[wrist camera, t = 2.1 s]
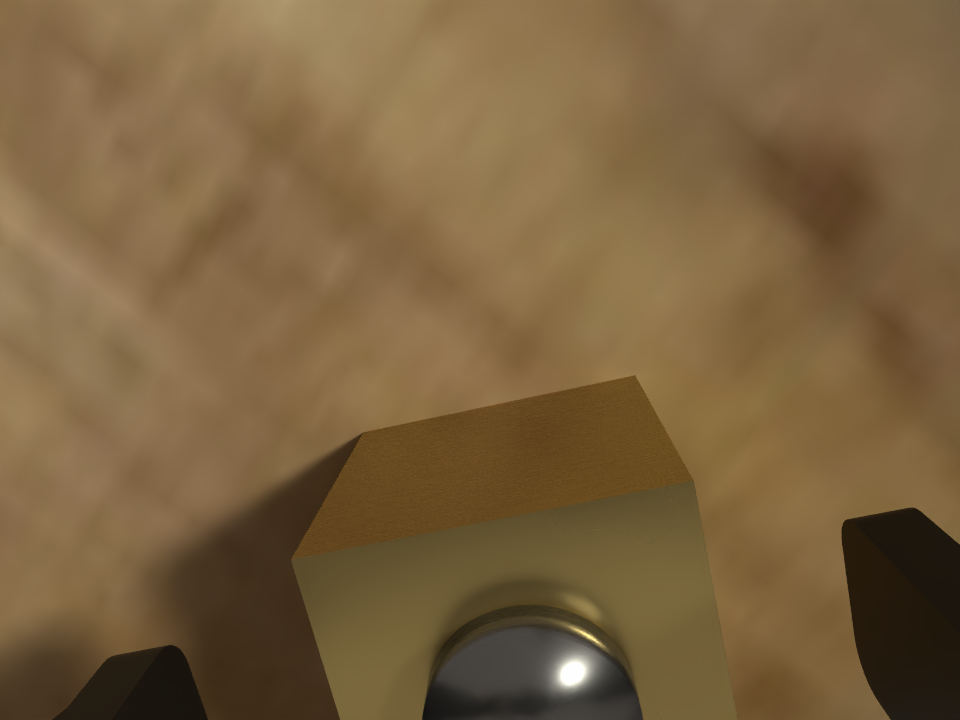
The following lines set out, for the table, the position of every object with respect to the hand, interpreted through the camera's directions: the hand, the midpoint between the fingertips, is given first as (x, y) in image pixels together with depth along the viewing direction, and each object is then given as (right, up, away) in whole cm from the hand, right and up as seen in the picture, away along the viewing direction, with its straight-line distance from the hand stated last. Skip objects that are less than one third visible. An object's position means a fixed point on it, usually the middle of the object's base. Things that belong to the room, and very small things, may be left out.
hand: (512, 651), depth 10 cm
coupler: (0, +1, +4) cm, 4 cm away
